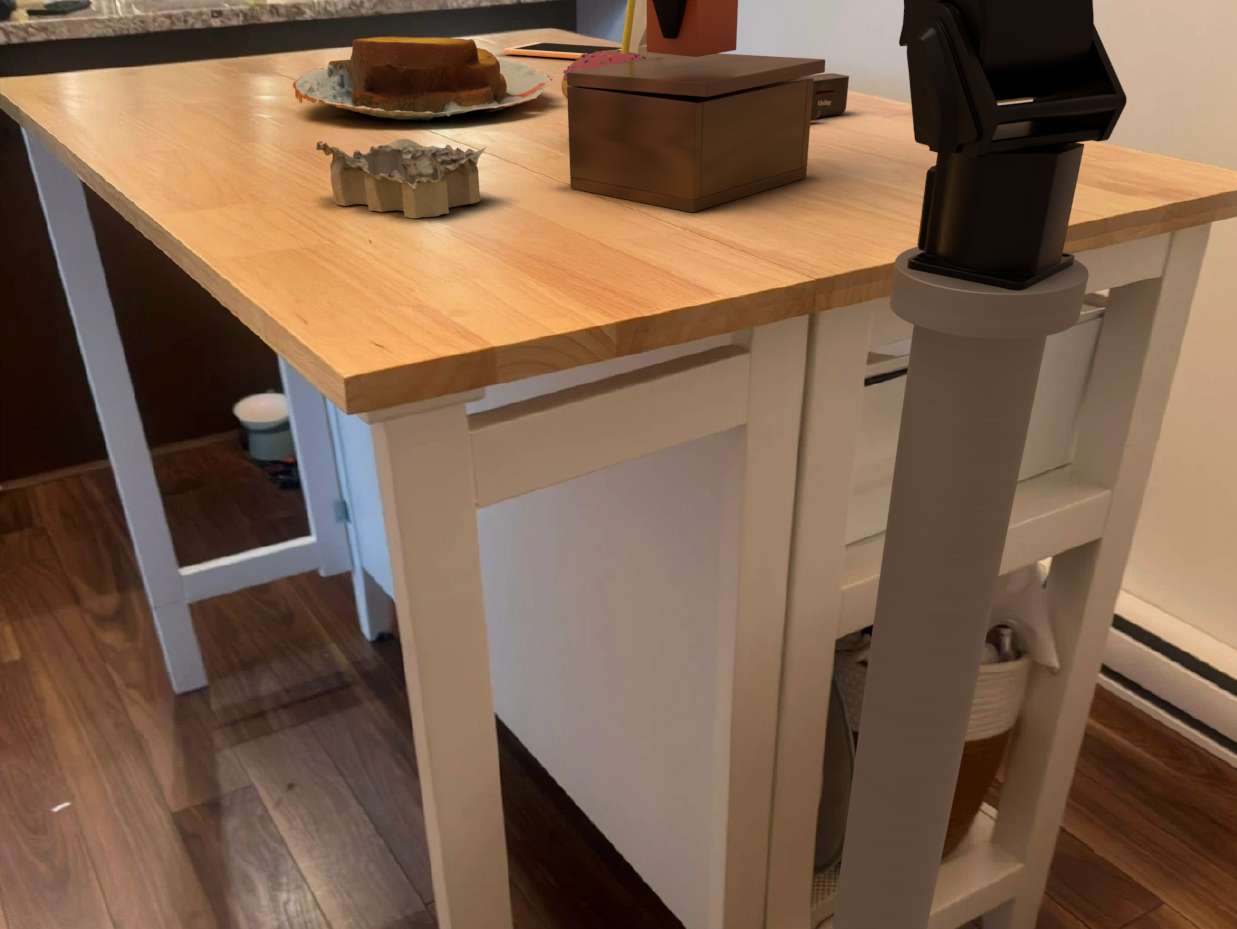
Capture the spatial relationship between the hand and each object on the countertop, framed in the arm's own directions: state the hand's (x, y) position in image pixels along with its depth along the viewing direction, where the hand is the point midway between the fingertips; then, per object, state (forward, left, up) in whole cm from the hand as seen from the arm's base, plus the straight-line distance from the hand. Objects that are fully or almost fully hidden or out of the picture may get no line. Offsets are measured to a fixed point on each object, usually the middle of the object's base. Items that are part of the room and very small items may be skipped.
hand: (692, 35), depth 80 cm
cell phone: (+57, -47, -10) cm, 74 cm away
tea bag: (+23, -22, -10) cm, 33 cm away
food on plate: (+42, -10, -10) cm, 44 cm away
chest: (0, 0, -10) cm, 10 cm away
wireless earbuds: (+8, -28, -10) cm, 31 cm away
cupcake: (+15, -8, -10) cm, 20 cm away
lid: (0, 0, -3) cm, 3 cm away
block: (0, 0, -1) cm, 1 cm away
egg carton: (+12, +17, -10) cm, 23 cm away
